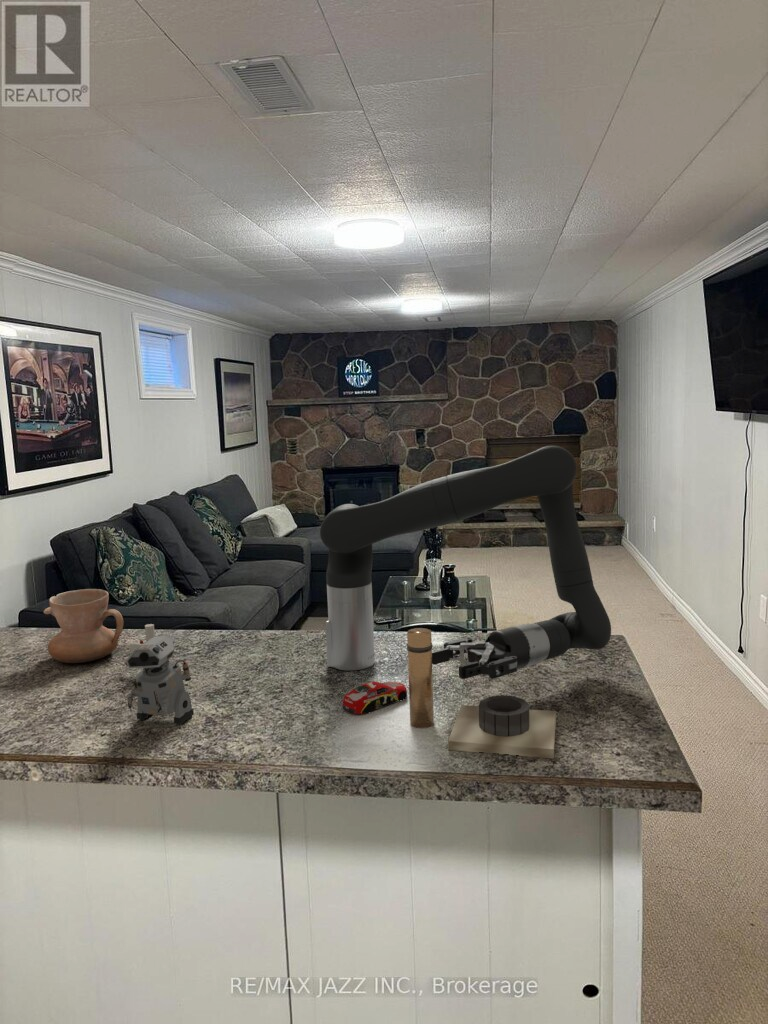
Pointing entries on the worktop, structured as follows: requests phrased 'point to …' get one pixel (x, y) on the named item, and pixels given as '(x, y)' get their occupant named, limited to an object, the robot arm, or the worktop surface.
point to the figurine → (159, 681)
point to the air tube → (420, 677)
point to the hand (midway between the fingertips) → (445, 665)
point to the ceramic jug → (83, 626)
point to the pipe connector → (149, 634)
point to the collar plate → (504, 728)
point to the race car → (373, 696)
